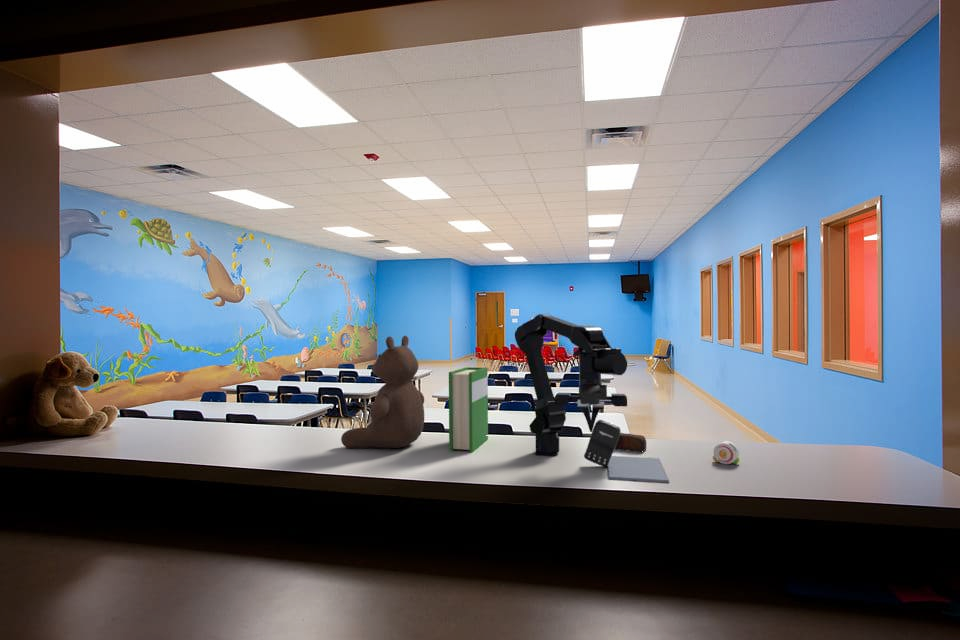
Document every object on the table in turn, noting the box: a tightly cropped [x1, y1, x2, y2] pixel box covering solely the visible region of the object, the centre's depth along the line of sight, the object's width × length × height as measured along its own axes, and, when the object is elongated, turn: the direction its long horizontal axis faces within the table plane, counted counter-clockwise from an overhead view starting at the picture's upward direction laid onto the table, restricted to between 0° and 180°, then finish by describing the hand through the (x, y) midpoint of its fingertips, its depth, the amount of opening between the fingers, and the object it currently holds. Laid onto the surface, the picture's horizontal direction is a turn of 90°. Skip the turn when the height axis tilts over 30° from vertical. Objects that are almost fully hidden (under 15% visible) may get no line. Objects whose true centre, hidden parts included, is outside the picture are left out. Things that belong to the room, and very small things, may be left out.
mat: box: [607, 455, 670, 483], centre depth 131 cm, size 14×20×1 cm
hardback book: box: [448, 366, 489, 454], centre depth 159 cm, size 18×7×24 cm, turn 164°
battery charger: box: [583, 419, 622, 468], centre depth 133 cm, size 7×4×11 cm, turn 75°
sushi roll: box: [712, 440, 740, 465], centre depth 136 cm, size 4×6×6 cm
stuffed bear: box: [340, 335, 425, 449], centre depth 160 cm, size 29×23×35 cm
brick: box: [614, 432, 647, 453], centre depth 152 cm, size 11×4×5 cm, turn 61°
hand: (591, 431), depth 133 cm, fingers closed
